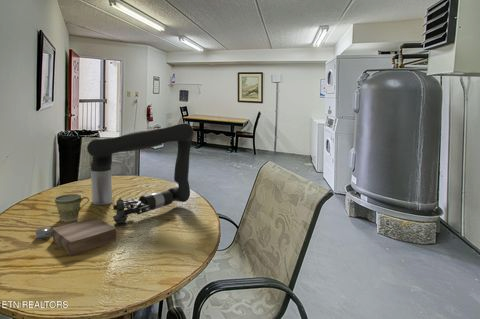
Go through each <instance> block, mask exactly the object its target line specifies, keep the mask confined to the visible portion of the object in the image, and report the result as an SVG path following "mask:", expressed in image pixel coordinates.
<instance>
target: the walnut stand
mask: <svg viewBox="0 0 480 319" xmlns="http://www.w3.org/2000/svg"><path fill="white" fill-rule="evenodd" d="M51 231H52V242H54V243H55V244H56V245H57V246H58V247H60V248H61V249H62V250H63V251H65V252H66V253H67V255H70V256H71V257H73V256H76V255H79V254H82V253H85V252H88V251H91V250H94V249H96V248H99V247H103V246H105V245H108V244H112V243H114V242H117V239H118V238H117V227H115V226H114V225H113V226H112V225H111V224H109V223H108V222H105V221H104V220H102V219H101V218H98V217H97V216H95V217H91V218H87V219H83V220H79V221H74V222H72V223H71V222H70V223H68V224H63V225H60V226H55V227H52V228H51Z"/></svg>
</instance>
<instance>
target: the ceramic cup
mask: <svg viewBox="0 0 480 319" xmlns="http://www.w3.org/2000/svg"><path fill="white" fill-rule="evenodd" d="M84 199H86V200H87V201H86V202H85V203H84V204H83V205H82V206H81V203H82V202H83V200H84ZM89 202H90V199H89V197H88V196H81V195H80V194H77V193H68V194H67V193H66V194H61V195H57V196H56V197H54V203H55V206H56V208H57V211H58V212H57V213H58V215H59V219H60V221H61V222H63V221H64V222H63V223H69V222H70V223H71V222H75V221H78V220H79V213H80V210H81V209H82V208H84V207H85V206H86V205H87V204H88V203H89ZM80 206H81V207H80Z"/></svg>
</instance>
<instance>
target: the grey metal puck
mask: <svg viewBox="0 0 480 319" xmlns="http://www.w3.org/2000/svg"><path fill="white" fill-rule="evenodd" d="M51 236H52V237H53V233H52V228H51V227H49V226H46V227H40V228H38V229H36V230H35V239H36V240H37V239H45V240H48V239H50V238H52V237H51ZM47 238H48V239H47Z"/></svg>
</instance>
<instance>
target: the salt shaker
mask: <svg viewBox="0 0 480 319" xmlns="http://www.w3.org/2000/svg"><path fill="white" fill-rule="evenodd" d="M123 200H124V199H121V197H119V198H118V200H116V202H115V205H116V206H117V207H116V210H115V211H116V212H115V213H116V214H115V215H113V217H112V219H113V221H114V222H115V223H114V224H113V227H115V228H123V227H126V226H127V225H128V222H127V219H128V217H129V215H124V210H125V209H126V208H125V207H124V201H123Z"/></svg>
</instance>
